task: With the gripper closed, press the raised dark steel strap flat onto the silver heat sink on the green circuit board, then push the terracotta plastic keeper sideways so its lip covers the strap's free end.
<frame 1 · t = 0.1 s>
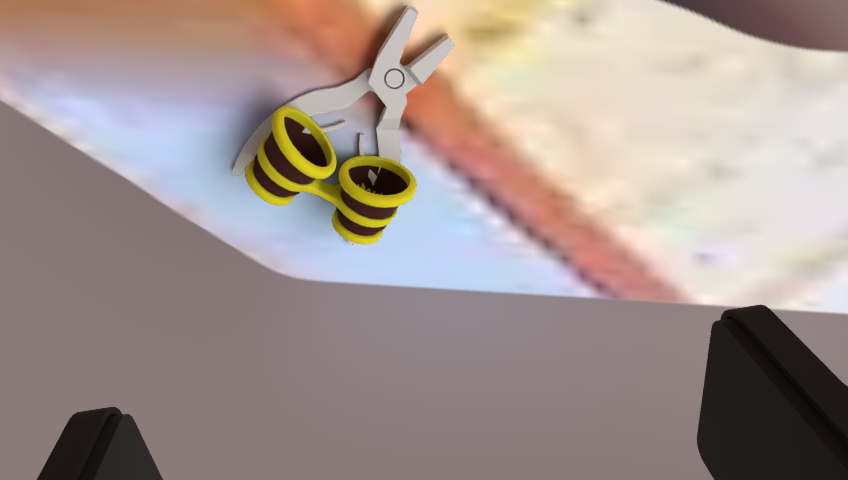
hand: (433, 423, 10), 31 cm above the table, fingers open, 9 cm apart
opera glasses: (331, 165, 41), on the table, touching pliers
pliers: (358, 117, 40), on the table, touching opera glasses
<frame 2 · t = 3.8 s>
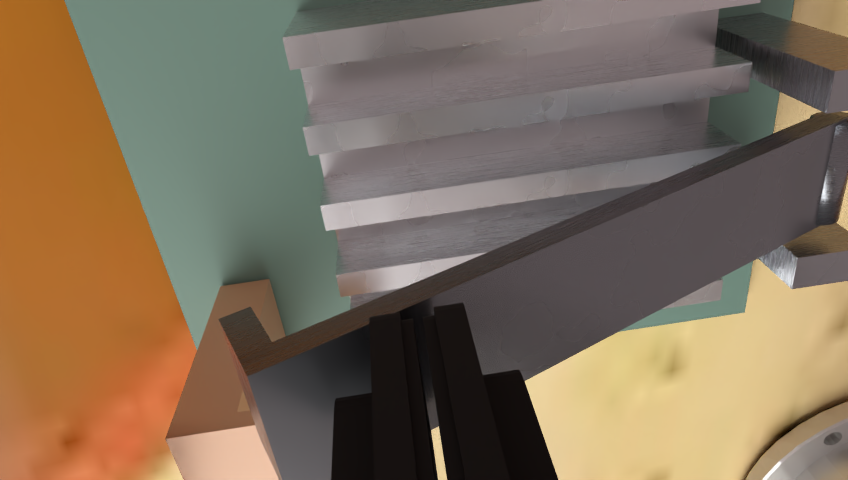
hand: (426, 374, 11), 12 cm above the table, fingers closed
circuit board: (457, 136, 22), on the table
strap: (597, 259, 14), point 9 cm above the table, hinge at 24.8°, touching gripper
keeper: (297, 384, 21), point 5 cm above the table, slide at 6.0 cm
heatsink: (498, 130, 22), resting on circuit board
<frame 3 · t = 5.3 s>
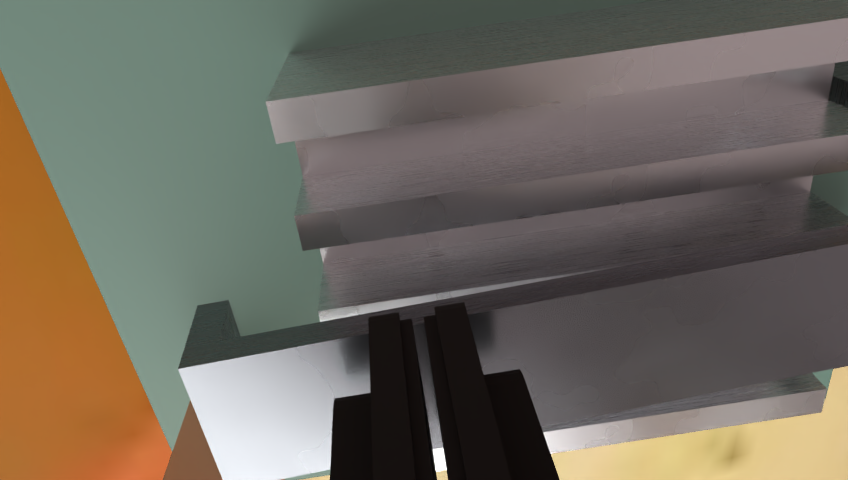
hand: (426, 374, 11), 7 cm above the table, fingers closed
circuit board: (487, 199, 18), on the table
strap: (617, 324, 12), point 6 cm above the table, hinge at 3.4°, touching gripper
heatsink: (538, 191, 18), resting on circuit board
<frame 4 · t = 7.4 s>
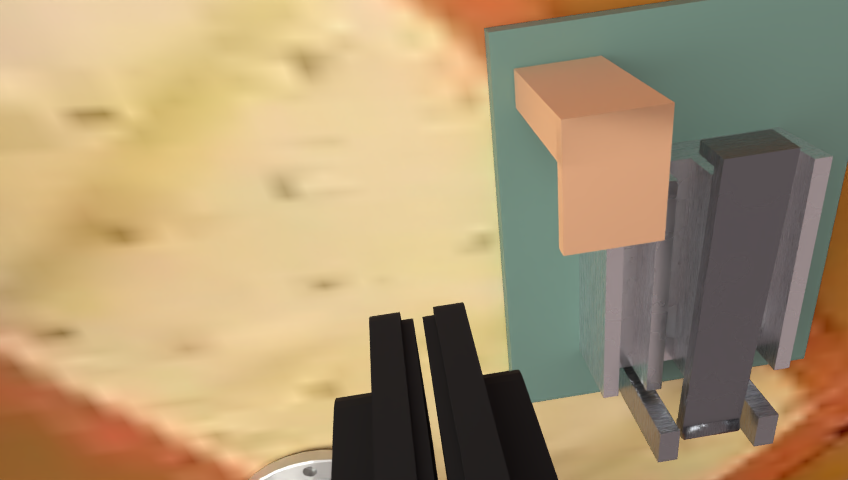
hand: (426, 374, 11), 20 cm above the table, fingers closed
circuit board: (664, 214, 34), on the table
strap: (722, 304, 29), point 6 cm above the table, hinge at 3.3°
keeper: (583, 148, 26), point 5 cm above the table, slide at 6.0 cm
heatsink: (662, 238, 35), resting on circuit board
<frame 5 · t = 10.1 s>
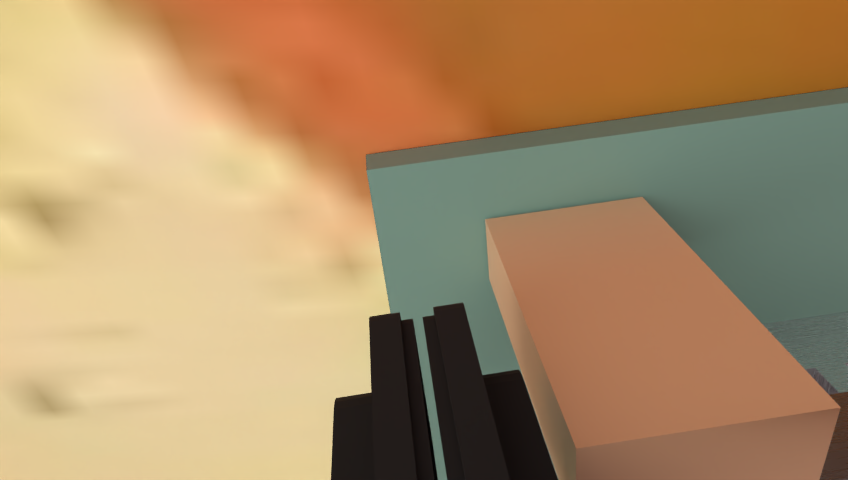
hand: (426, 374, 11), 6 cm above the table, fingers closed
circuit board: (678, 419, 21), on the table
keeper: (612, 392, 14), point 5 cm above the table, slide at 4.3 cm, touching gripper
heatsink: (674, 449, 22), resting on circuit board
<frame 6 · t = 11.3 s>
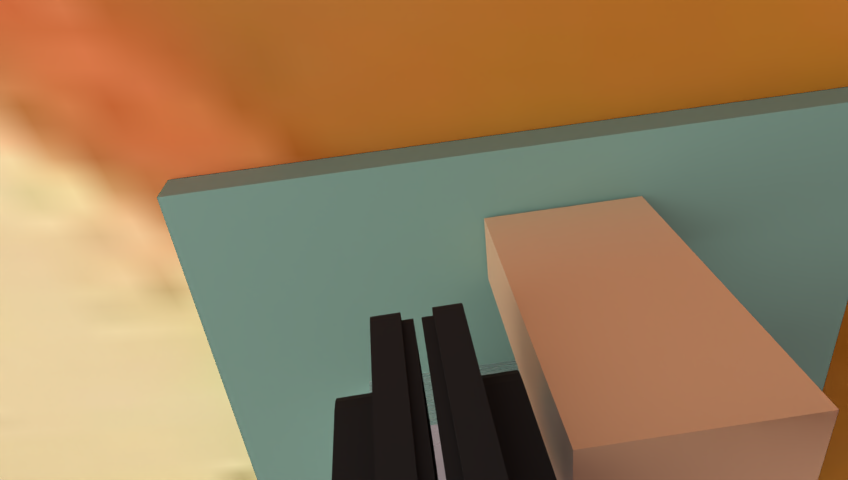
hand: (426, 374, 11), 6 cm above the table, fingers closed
circuit board: (535, 439, 21), on the table
keeper: (610, 392, 14), point 5 cm above the table, slide at -0.6 cm, touching gripper
heatsink: (536, 469, 22), resting on circuit board
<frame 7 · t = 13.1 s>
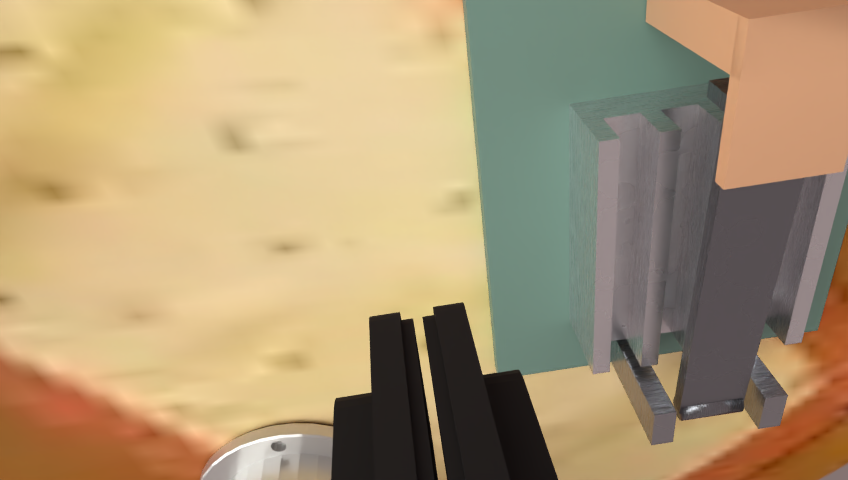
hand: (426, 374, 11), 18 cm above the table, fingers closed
circuit board: (667, 170, 30), on the table
strap: (728, 273, 25), point 6 cm above the table, hinge at 3.3°
keeper: (738, 65, 22), point 5 cm above the table, slide at -0.1 cm
heatsink: (664, 197, 31), resting on circuit board
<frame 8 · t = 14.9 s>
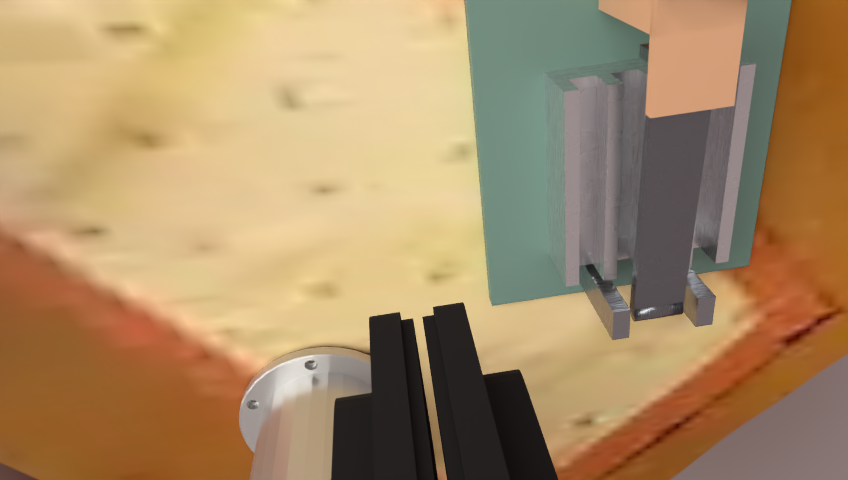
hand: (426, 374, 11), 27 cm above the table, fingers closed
circuit board: (621, 129, 39), on the table
strap: (664, 195, 34), point 6 cm above the table, hinge at 3.3°
keeper: (662, 35, 31), point 5 cm above the table, slide at -0.1 cm
heatsink: (620, 151, 39), resting on circuit board
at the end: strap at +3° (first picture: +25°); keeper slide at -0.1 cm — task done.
